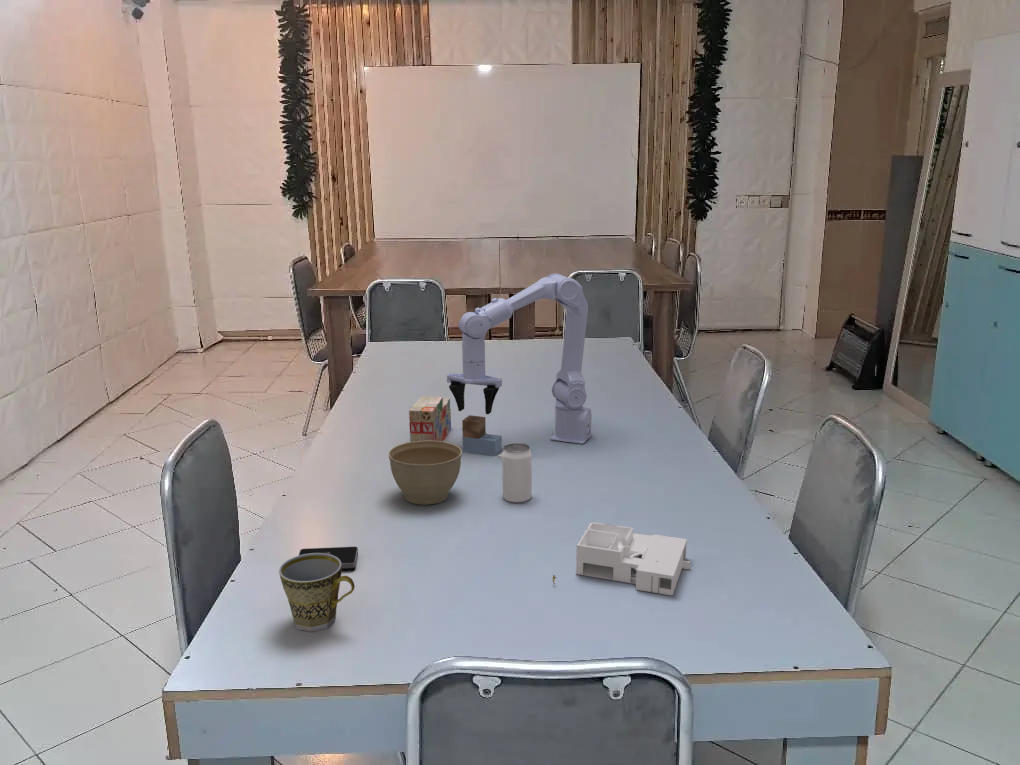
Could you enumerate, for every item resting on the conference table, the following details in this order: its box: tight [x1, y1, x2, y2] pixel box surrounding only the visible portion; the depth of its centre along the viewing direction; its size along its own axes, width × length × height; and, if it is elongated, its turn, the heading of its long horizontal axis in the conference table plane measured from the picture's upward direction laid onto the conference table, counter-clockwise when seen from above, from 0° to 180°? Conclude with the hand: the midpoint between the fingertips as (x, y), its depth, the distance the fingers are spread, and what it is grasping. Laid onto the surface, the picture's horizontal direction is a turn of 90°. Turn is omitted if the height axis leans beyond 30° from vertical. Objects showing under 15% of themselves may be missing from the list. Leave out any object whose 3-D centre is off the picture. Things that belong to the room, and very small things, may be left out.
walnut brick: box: [461, 414, 487, 439], centre depth 219 cm, size 4×4×4 cm
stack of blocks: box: [408, 396, 452, 442], centre depth 225 cm, size 21×6×12 cm, turn 172°
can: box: [501, 442, 533, 504], centre depth 188 cm, size 6×6×12 cm
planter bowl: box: [388, 441, 463, 506], centre depth 189 cm, size 16×16×11 cm
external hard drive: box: [297, 546, 359, 572], centre depth 160 cm, size 7×11×2 cm, turn 95°
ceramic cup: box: [278, 553, 356, 633], centre depth 139 cm, size 13×10×10 cm
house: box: [552, 521, 692, 596], centre depth 156 cm, size 22×18×6 cm
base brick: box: [462, 433, 503, 457], centre depth 219 cm, size 9×4×4 cm, turn 68°
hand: (474, 411), depth 218 cm, fingers open, 7 cm apart
